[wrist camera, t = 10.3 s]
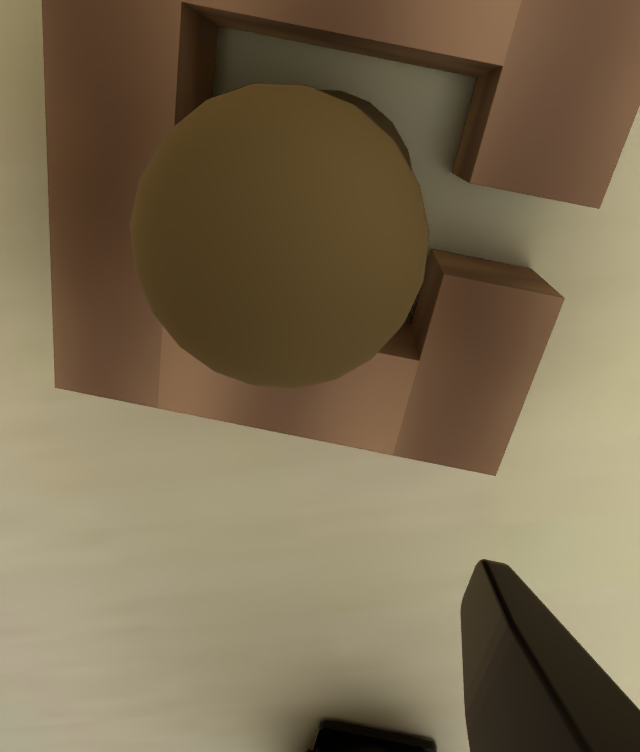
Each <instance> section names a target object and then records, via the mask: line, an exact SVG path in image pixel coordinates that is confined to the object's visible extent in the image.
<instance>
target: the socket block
mask: <svg viewBox="0 0 640 752" xmlns="http://www.w3.org/2000/svg"><path fill="white" fill-rule="evenodd" d="M42 19H43V48H44V78H45V107H46V136H47V166H48V195H49V225H50V254H51V283H52V313H53V342H54V372H55V388H60V389H65V390H70V391H74V392H79V393H84V394H89V395H94V396H99V397H104V398H109V399H114V400H119V401H124V402H129V403H134V404H139V405H144V406H149V407H154V408H159V409H164V410H169V411H174V412H179V413H184V414H189V415H194V416H199V417H204V418H209V419H214V420H219V421H224V422H229V423H234V424H239V425H244V426H249V427H254V428H259V429H264V430H269V431H274V432H279V433H284V434H289V435H294V436H299V437H304V438H309V439H314V440H319V441H324V442H329V443H334V444H339V445H344V446H349V447H354V448H359V449H364V450H369V451H374V452H379V453H384V454H389V455H394V456H399V457H404V458H409V459H414V460H419V461H424V462H429V463H434V464H439V465H444V466H449V467H454V468H459V469H464V470H469V471H474V472H479V473H484V474H489V475H494V476H496V473H497V471H498V468H499V466H500V463H501V461H502V458H503V455H504V453H505V450H506V448H507V445H508V443H509V440H510V437H511V435H512V432H513V430H514V427H515V425H516V422H517V419H518V417H519V414H520V412H521V409H522V407H523V404H524V401H525V399H526V396H527V394H528V391H529V389H530V386H531V383H532V381H533V378H534V376H535V373H536V371H537V368H538V365H539V363H540V360H541V358H542V355H543V352H544V350H545V347H546V345H547V342H548V340H549V337H550V334H551V332H552V329H553V327H554V324H555V322H556V319H557V316H558V314H559V311H560V309H561V306H562V304H563V301H564V297H563V296H562V295H560V294H559V293H558V292H557V291H556V290H555V289H554V288H553V287H551V286H550V285H549V284H548V283H547V282H546V281H545V280H544V279H542V278H541V277H540V276H539V275H538V274H537V273H536V272H535V271H533V270H532V269H529V268H524V267H519V266H514V265H509V264H504V263H499V262H494V261H489V260H484V259H479V258H474V257H469V256H464V255H459V254H454V253H449V252H444V251H439V250H434V249H431V253H430V257H429V261H428V264H427V268H426V272H425V275H424V281H423V283H422V287H421V290H420V294H419V298H418V302H417V305H416V309H415V313H414V316H413V320H412V323H407V322H404V323H403V325H402V326H401V328H400V329H399V330H398V331H397V332H396V333H395V334H394V335H393V336H392V338H391V339H390V340H389V341H388V342H387V343H386V344H385V345H384V346H383V347H382V348H381V349H380V351H379V352H378V353H377V354H376V355H375V356H374V357H373V358H372V359H371V360H369V361H368V362H366V363H364V364H362V365H361V366H359V367H357V368H355V369H354V370H352V371H350V372H348V373H347V374H345V375H343V376H341V377H340V378H338V379H336V380H333V381H328V382H324V383H319V384H315V385H310V386H306V387H301V388H297V389H290V388H275V387H261V386H253V385H250V384H247V383H244V382H242V381H239V380H236V379H233V378H231V377H228V376H225V375H222V374H220V373H217V372H214V371H213V370H211V369H210V368H209V367H207V366H206V365H204V364H203V363H202V362H200V361H199V360H198V359H196V358H195V357H193V356H192V355H191V354H189V353H188V352H186V351H185V350H184V349H182V348H181V347H179V345H178V344H177V343H176V342H175V340H174V339H173V338H172V337H171V335H170V334H169V333H168V332H167V330H166V329H165V328H164V327H163V325H162V324H161V323H160V322H159V320H158V319H157V318H156V317H155V315H154V314H153V313H152V311H151V309H150V306H149V304H148V301H147V299H146V297H145V294H144V292H143V290H142V287H141V285H140V283H139V280H138V278H137V275H136V273H135V270H134V260H133V251H132V242H131V233H130V221H131V216H132V211H133V206H134V201H135V197H136V192H137V187H138V182H139V178H140V177H141V175H142V173H143V172H144V170H145V168H146V167H147V165H148V163H149V161H150V160H151V158H152V156H153V155H154V153H155V151H156V150H157V148H158V146H159V145H160V143H161V141H162V139H163V138H164V136H165V135H166V134H167V133H168V131H169V130H171V129H172V128H173V127H174V126H175V125H177V124H178V123H179V122H180V121H181V120H183V119H184V118H185V117H186V116H188V115H189V114H190V113H191V112H192V111H194V110H195V109H196V108H197V107H198V106H200V105H201V104H202V103H203V102H205V101H206V100H207V99H210V98H212V91H213V79H214V67H215V55H216V43H217V32H218V26H222V27H227V28H232V29H237V30H242V31H247V32H252V33H257V34H262V35H267V36H272V37H277V38H282V39H287V40H292V41H297V42H302V43H307V44H312V45H317V46H322V47H327V48H333V49H338V50H343V51H348V52H353V53H358V54H363V55H368V56H373V57H378V58H383V59H388V60H393V61H398V62H403V63H408V64H413V65H418V66H423V67H428V68H433V69H438V70H443V71H448V72H453V73H458V74H463V75H468V76H473V77H478V78H477V81H476V85H475V89H474V93H473V96H472V100H471V104H470V108H469V111H468V115H467V119H466V122H465V126H464V130H463V134H462V137H461V141H460V145H459V149H458V152H457V156H456V160H455V164H454V167H453V171H452V173H453V174H455V175H457V176H459V177H460V178H462V179H464V180H466V181H467V182H469V183H472V184H477V185H482V186H487V187H492V188H497V189H502V190H507V191H512V192H517V193H522V194H527V195H533V196H538V197H543V198H548V199H553V200H558V201H563V202H568V203H573V204H578V205H583V206H588V207H593V208H598V209H599V208H600V206H601V203H602V201H603V198H604V195H605V193H606V190H607V188H608V185H609V183H610V180H611V177H612V175H613V172H614V170H615V167H616V165H617V162H618V159H619V157H620V154H621V152H622V149H623V147H624V144H625V141H626V139H627V136H628V134H629V131H630V129H631V126H632V123H633V121H634V118H635V116H636V113H637V111H638V108H639V105H640V0H42Z"/></svg>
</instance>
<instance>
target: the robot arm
mask: <svg viewBox="0 0 640 752" xmlns="http://www.w3.org/2000/svg"><path fill="white" fill-rule="evenodd" d="M461 634H462V658H463V681H464V703H465V717H466V725H467V733H468V740H469V747H470V752H640V710H639V709H638V707H637V706H636V705H635V704H634V703H633V702H632V701H631V700H630V699H629V698H628V696H627V695H626V694H625V693H624V692H623V691H622V690H621V689H620V688H619V687H618V685H617V684H616V683H615V682H614V681H613V680H612V679H611V678H610V677H609V675H608V674H607V673H606V672H605V671H604V670H603V669H602V668H601V667H600V666H599V664H598V663H597V662H596V661H595V660H594V659H593V658H592V657H591V656H590V655H589V653H588V652H587V651H586V650H585V649H584V648H583V647H582V646H581V645H580V643H579V642H578V641H577V640H576V639H575V638H574V637H573V636H572V635H571V634H570V632H569V631H568V630H567V629H566V628H565V627H564V626H563V625H562V624H561V623H560V621H559V620H558V619H557V618H556V617H555V616H554V615H553V614H552V613H551V612H550V610H549V609H548V608H547V607H546V606H545V605H544V604H543V603H542V602H541V600H540V599H539V598H538V597H537V596H536V595H535V594H534V593H533V592H532V591H531V589H530V588H529V587H528V586H527V585H526V584H525V583H524V582H523V581H522V580H521V578H520V577H519V576H518V575H517V574H516V573H515V572H514V571H513V570H512V568H510V567H509V566H508V565H507V564H504V563H500V562H495V561H491V560H486V559H483V560H480V561H479V562H478V563H477V564H476V566H475V569H474V571H473V574H472V576H471V579H470V581H469V584H468V586H467V589H466V591H465V593H464V596H463V599H462V604H461ZM305 752H437V746H436V744H435V743H433V742H431V741H426V740H421V739H416V738H411V737H406V736H402V735H397V734H392V733H387V732H382V731H377V730H372V729H367V728H362V727H357V726H352V725H347V724H342V723H337V722H332V721H323V722H321V723H320V724H319V726H318V730H317V733H316V737H315V740H314V744H313V747H312V749H308V750H307V751H305Z"/></svg>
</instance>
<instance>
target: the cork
mask: <svg viewBox="0 0 640 752" xmlns="http://www.w3.org/2000/svg"><path fill="white" fill-rule="evenodd" d="M130 233H131V242H132V251H133V260H134V270H135V273H136V275H137V278H138V280H139V283H140V285H141V287H142V290H143V292H144V294H145V297H146V299H147V301H148V304H149V306H150V309H151V311H152V313H153V314H154V315H155V317H156V318H157V319H158V320H159V322H160V323H161V324H162V325H163V327H164V328H165V329H166V330H167V332H168V333H169V334H170V335H171V337H172V338H173V339H174V340H175V342H176V343H177V344H178V345H179V347H181V348H182V349H184V350H185V351H186V352H188V353H189V354H191V355H192V356H193V357H195V358H196V359H198V360H199V361H200V362H202V363H203V364H204V365H206V366H207V367H209V368H210V369H211V370H213V371H214V372H217V373H220V374H222V375H225V376H228V377H231V378H233V379H236V380H239V381H242V382H244V383H247V384H250V385H253V386H261V387H275V388H290V389H297V388H301V387H306V386H310V385H315V384H319V383H324V382H328V381H333V380H336V379H338V378H340V377H341V376H343V375H345V374H347V373H348V372H350V371H352V370H354V369H355V368H357V367H359V366H361V365H362V364H364V363H366V362H368V361H369V360H371V359H372V358H373V357H374V356H375V355H376V354H377V353H378V352H379V351H380V349H381V348H382V347H383V346H384V345H385V344H386V343H387V342H388V341H389V340H390V339H391V338H392V336H393V335H394V334H395V333H396V332H397V331H398V330H399V329H400V328H401V326H402V325H403V323H404V322H405V320H406V318H407V316H408V314H409V312H410V309H411V307H412V305H413V303H414V301H415V299H416V296H417V294H418V292H419V290H420V288H421V286H422V283H423V281H424V275H425V266H426V258H427V249H428V241H429V229H428V224H427V219H426V214H425V209H424V204H423V200H422V195H421V190H420V185H419V183H418V181H417V180H416V178H415V176H414V174H413V173H412V168H411V163H410V158H409V153H408V149H407V148H406V146H405V144H404V142H403V141H402V139H401V137H400V135H399V133H398V132H397V130H396V128H395V126H394V125H393V123H392V122H391V121H390V120H389V119H388V118H386V117H385V116H384V115H383V114H382V113H381V112H380V111H379V110H378V109H376V108H375V107H374V106H373V105H372V104H371V103H370V102H367V101H365V100H362V99H360V98H358V97H355V96H353V95H350V94H348V93H345V92H343V91H331V90H316V89H314V88H311V87H309V86H306V85H282V84H252V85H249V86H246V87H243V88H240V89H237V90H234V91H231V92H228V93H225V94H222V95H219V96H216V97H213V98H210V99H207V100H206V101H205V102H203V103H202V104H201V105H200V106H198V107H197V108H196V109H195V110H194V111H192V112H191V113H190V114H189V115H188V116H186V117H185V118H184V119H183V120H181V121H180V122H179V123H178V124H177V125H175V126H174V127H173V128H172V129H171V130H169V131H168V133H167V134H166V135H165V136H164V138H163V139H162V141H161V143H160V145H159V146H158V148H157V150H156V151H155V153H154V155H153V156H152V158H151V160H150V161H149V163H148V165H147V167H146V168H145V170H144V172H143V173H142V175H141V177H140V178H139V182H138V187H137V192H136V197H135V201H134V206H133V211H132V216H131V221H130Z"/></svg>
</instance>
